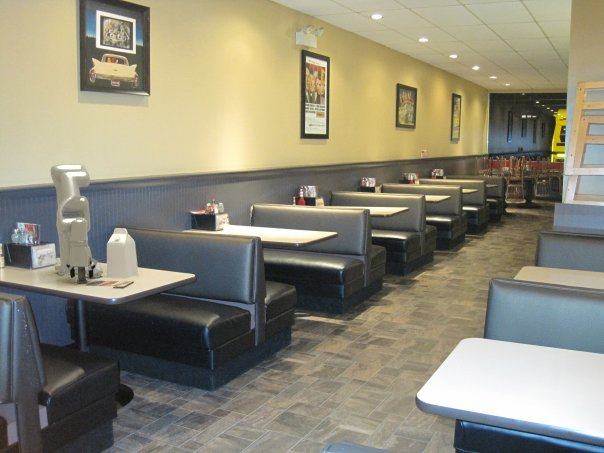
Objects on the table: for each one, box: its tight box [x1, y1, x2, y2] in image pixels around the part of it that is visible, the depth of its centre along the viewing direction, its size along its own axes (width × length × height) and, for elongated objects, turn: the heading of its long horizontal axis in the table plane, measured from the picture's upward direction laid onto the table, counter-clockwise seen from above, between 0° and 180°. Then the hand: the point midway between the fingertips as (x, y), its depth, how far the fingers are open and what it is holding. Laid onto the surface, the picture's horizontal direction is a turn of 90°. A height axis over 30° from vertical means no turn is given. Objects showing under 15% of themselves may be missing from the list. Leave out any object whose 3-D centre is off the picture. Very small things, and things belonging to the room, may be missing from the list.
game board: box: [72, 280, 135, 289], centre depth 301 cm, size 28×13×1 cm, turn 83°
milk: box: [106, 227, 139, 279], centre depth 319 cm, size 12×12×26 cm
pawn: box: [76, 267, 88, 284], centre depth 302 cm, size 5×5×10 cm
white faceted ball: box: [85, 263, 104, 279], centre depth 316 cm, size 8×9×10 cm
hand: (82, 277), depth 302 cm, fingers open, 9 cm apart
